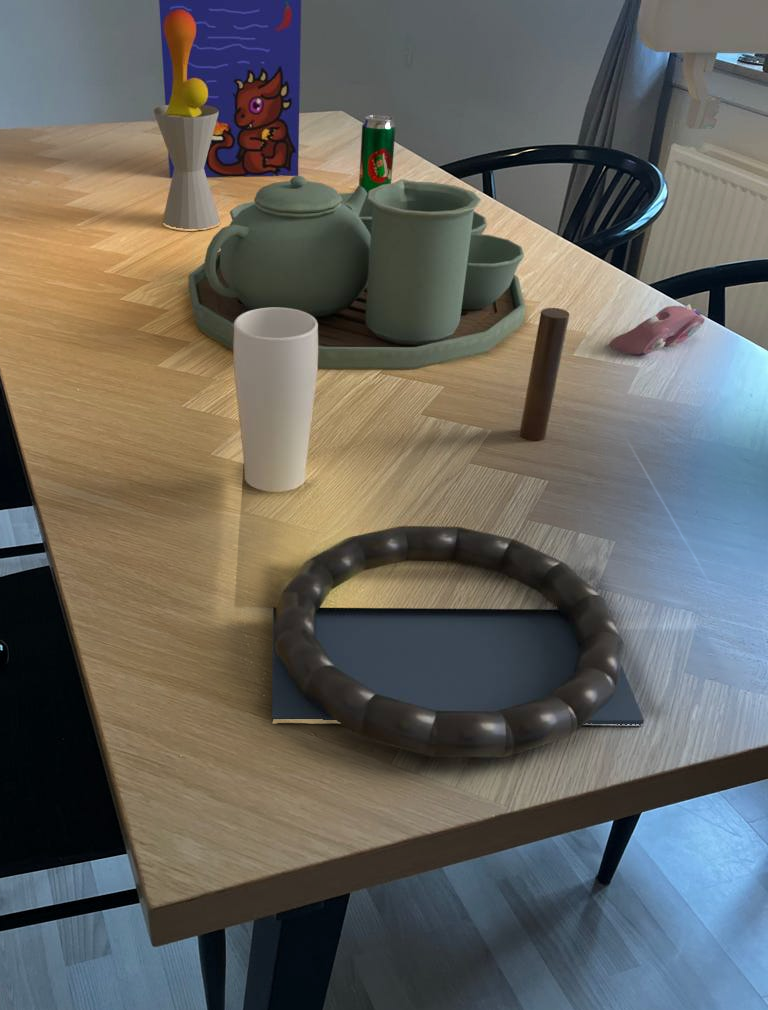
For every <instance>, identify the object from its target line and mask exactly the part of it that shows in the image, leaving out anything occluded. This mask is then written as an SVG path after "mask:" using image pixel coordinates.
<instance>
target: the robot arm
mask: <svg viewBox="0 0 768 1010" xmlns="http://www.w3.org/2000/svg"><path fill="white" fill-rule="evenodd" d="M637 15H638V16H637V21H636V31H637V34H638V36H639V38H640V40H641V42H642V44H643V45H644V46H645V47H646V48H648V49H650V50H652V51H654V52H656V53H680V54H681V53H684V55H683V60H682V65H681V69H682V72H683V73H682V74H683V76H684V79H685V83H686V86H687V90H688V94H689V96H690V101H689V104H688V109H687V113H686V117H685V126H686V127H688V128H689V129H691V130H713V129H714V128H715V126H716V123H717V117H716V116H717V115H718V113H719V110H720V108H721V104H722V101H721V100H720V99H717V98H716V97H714V96H713V95H711V96H710V95H709V92H708V88H707V83H706V77H705V74H704V73H712V72H713V71H714V67H715V63H716V60H717V56H718V54H745V55H747V54H748V55H750V54H751V55H752V54H753V55H768V0H641V2H640V6H639V11H638V14H637Z"/></svg>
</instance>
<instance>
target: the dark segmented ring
mask: <svg viewBox="0 0 768 1010" xmlns="http://www.w3.org/2000/svg"><path fill="white" fill-rule="evenodd" d="M404 561H447V562H448V561H449V562H450V561H451V562H452V561H453V562H457V563H461V564H467V565H470V566H475V567H479V568H483V569H487V570H492V571H496V572H500V573H502V574H504V575H506V576H508V577H510V578H512V579H514V580H516V581H518V582H520V583H521V584H524V585H525V586H527V587H530V588H532V589H533V590H536V591H538V592H539V593H541V594H542V595H543V596H544V597H545V598H546V599H547V600H548V601H549V602H550V603H552V605H553V606H554V607H555V609H557V610H558V611H559V612H561V613H562V614H563V615H564V616H565V617H566V618H567V619H568V620H569V621H570V623H571V626H572V629H573V631H574V634H575V637H576V640H577V642H578V645H579V648H580V650H579V654H578V657H577V661H576V664H575V668H574V671H573V674H572V675H571V676H570V677H568V678H567V679H566V680H565V681H564V682H563V683H561V684H560V685H559V686H558V687H557V688H555V689H554V690H553V691H552V692H551V693H550V694H548V695H547V696H546V697H543V698H540V699H536V700H533V701H530V702H526V703H523V704H520V705H516V706H513V707H509V708H506V709H503V710H499V711H435V710H432V709H428V708H425V707H421V706H418V705H414V704H411V703H407V702H403V701H400V700H396V699H393V698H389V697H386V696H382V695H379V694H377V693H375V692H374V691H372V690H370V689H369V688H367V687H366V686H364V685H363V684H361V683H360V682H358V681H356V680H355V679H353V678H352V677H350V676H349V675H347V674H345V673H344V672H342V671H341V670H339V669H338V668H336V667H335V665H334V664H333V662H332V661H331V659H330V658H329V656H328V655H327V653H326V652H325V650H324V649H323V648H322V646H321V645H320V643H319V642H318V640H317V639H316V612H317V611H318V609H319V608H321V606H322V604H323V603H324V601H325V600H326V599H327V597H328V595H329V593H330V592H331V591H332V590H333V589H336V588H337V587H338V586H340V585H342V584H343V583H345V582H346V581H348V580H350V579H352V578H353V577H355V576H356V575H358V574H360V573H361V572H363V571H366V570H371V569H374V568H378V567H379V568H380V567H383V566H387V565H391V564H395V563H400V562H404ZM275 604H276V605H275V607H276V631H275V648H276V652H277V655H278V657H279V658H280V660H281V661H282V663H283V664H284V666H285V668H286V669H287V671H288V672H289V674H290V676H291V677H292V679H293V680H294V682H295V684H296V685H297V687H298V688H299V690H300V692H301V693H302V695H303V696H304V697H305V699H306V700H308V701H309V702H310V703H312V704H313V705H315V706H316V707H318V708H319V709H321V710H322V711H324V712H325V713H327V714H328V715H330V716H331V717H333V718H334V719H335V720H337V721H338V722H340V723H341V724H343V726H344V727H345V728H347V729H349V730H350V731H352V732H353V733H354V734H356V735H358V736H360V737H362V738H365V739H369V740H373V741H376V742H379V743H383V744H386V745H390V746H393V747H396V748H399V749H403V750H406V751H408V752H409V751H410V752H413V753H416V754H419V755H423V756H426V757H431V758H437V757H439V758H506V757H510V756H513V755H516V754H519V753H523V752H527V751H529V750H532V749H535V748H539V747H542V746H544V745H548V744H552V743H554V742H558V741H562V740H564V739H567V738H569V737H571V736H573V734H575V733H576V732H577V731H578V730H579V729H580V728H582V727H583V726H582V725H583V724H585V723H586V722H587V721H588V720H589V719H590V718H591V717H592V716H593V715H594V714H596V713H597V712H598V711H599V710H600V709H601V708H602V707H603V706H604V705H605V704H607V703H608V702H609V701H610V699H611V698H612V697H613V695H614V692H615V689H616V684H617V680H618V676H619V671H620V667H621V665H622V662H623V659H624V654H625V643H624V641H623V638H622V635H621V634H620V631H619V628H618V626H617V624H616V621H615V619H614V616H613V615H612V612H611V609H610V607H609V605H608V602H607V600H606V599H605V598H604V597H603V596H602V595H601V594H600V593H599V592H598V591H596V590H595V589H594V587H592V586H591V584H589V583H588V582H587V581H586V580H584V578H582V577H581V576H580V575H579V574H578V573H577V572H576V571H575V570H573V569H572V568H571V567H570V566H569V565H568V564H567V563H565V562H563V561H561V560H559V559H557V558H555V557H553V556H552V555H549V554H546V553H544V552H542V551H540V550H539V549H536V548H534V547H532V546H530V545H528V544H526V543H524V542H521V541H520V540H517V539H514V538H511V537H507V536H502V535H497V534H493V533H488V532H484V531H480V530H475V529H471V528H466V527H463V526H455V525H454V526H453V525H452V526H448V525H447V526H446V525H444V526H443V525H442V526H439V525H437V526H436V525H398V526H393V527H390V528H385V529H380V530H375V531H371V532H366V533H363V534H358V535H354V536H349V537H346V538H344V539H343V540H341V541H339V542H337V543H335V544H334V545H332V546H330V547H329V548H326V549H325V550H323V551H321V552H320V553H318V554H316V555H315V556H313V557H311V558H310V559H308V560H306V561H304V562H303V563H302V565H301V566H300V567H299V568H298V570H297V571H296V573H295V574H294V575H293V577H292V578H291V580H290V581H289V583H288V584H287V585H286V587H285V588H284V589H283V591H282V592H281V594H280V595H279V597H278V599H277V600H276V603H275Z"/></svg>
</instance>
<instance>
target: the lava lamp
mask: <svg viewBox="0 0 768 1010" xmlns="http://www.w3.org/2000/svg"><path fill="white" fill-rule="evenodd" d="M164 33H165V37H166V40H167V43H168V46H169V49H170V54H171V59H172V63H173V87H172V95H171V99H170V102H169V105H165V104H164V105H161V106H157V107H156V108H154V109H153V113H154V117H155V119H156V123H157V126H158V127H159V131H160V134H161V136H162V139H163V141H164V144H165V147H166V149H167V152H169V155H170V158H171V161H172V163H173V166H174V172H173V176H172V178H171V181H170V186H169V189H168V190H169V191H168V194H167V200H166V204H165V209H164V213H163V217H162V222H163V223H165V224H166V225H169V226H171V227H176V228H183V229H203V228H208V227H211V226H215V225H217V224H218V223H219V222H221V219H220V217H219V213H218V209H217V206H216V203H215V200H214V197H213V193H212V191H211V187H210V184H209V181H208V177H206V174H205V171H204V166H205V162H206V158H207V154H208V151H209V147H210V143H211V140H212V136H213V132H214V129H215V125H216V121H217V117H218V113H219V110H218V109H217V108H215V107H212V106H208V105H204V104H205V102H206V101H207V98H208V89H207V86H206V84H205V83H204V82H203V81H202V80H200V79H198V78H191V79H189V80H187V63H188V59H189V54H190V50H191V47H192V44H193V41H194V38H195V35H196V24H195V21H194V19H193V17H192V16H191V15H190V14H189V13H188V12H186V11H184V10H180V9H178V10H174V11H172V12H170V13H169V14H168V15H167V17H166V19H165V22H164ZM163 223H162V224H163Z"/></svg>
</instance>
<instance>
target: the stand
mask: <svg viewBox="0 0 768 1010" xmlns="http://www.w3.org/2000/svg"><path fill="white" fill-rule="evenodd" d="M569 318H570V313H569V312H568V311H567V310H565V309H563V308H558V307H546V308H543V309H542V310H541V311H540V316H539V321H538V326H537V332H536V339H535V344H534V349H533V355H532V359H531V360H532V361H531V366H530V372H529V376H528V377H529V378H528V383H527V388H526V394H525V399H524V405H523V410H522V416H521V422H520V427H519V433H518V434H519V435H518V436H519V437H520V438H521V439H522V440H525V441H528V442H533V443H534V442H541V441H543V440H545V439H546V435H547V431H548V425H549V420H550V414H551V410H552V405H553V400H554V396H555V389H556V384H557V381H558V380H557V379H558V376H559V375H558V374H559V370H560V365H561V360H562V354H563V349H564V343H565V340H566V339H565V338H566V334H567V329H568V324H569V320H570V319H569Z"/></svg>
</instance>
